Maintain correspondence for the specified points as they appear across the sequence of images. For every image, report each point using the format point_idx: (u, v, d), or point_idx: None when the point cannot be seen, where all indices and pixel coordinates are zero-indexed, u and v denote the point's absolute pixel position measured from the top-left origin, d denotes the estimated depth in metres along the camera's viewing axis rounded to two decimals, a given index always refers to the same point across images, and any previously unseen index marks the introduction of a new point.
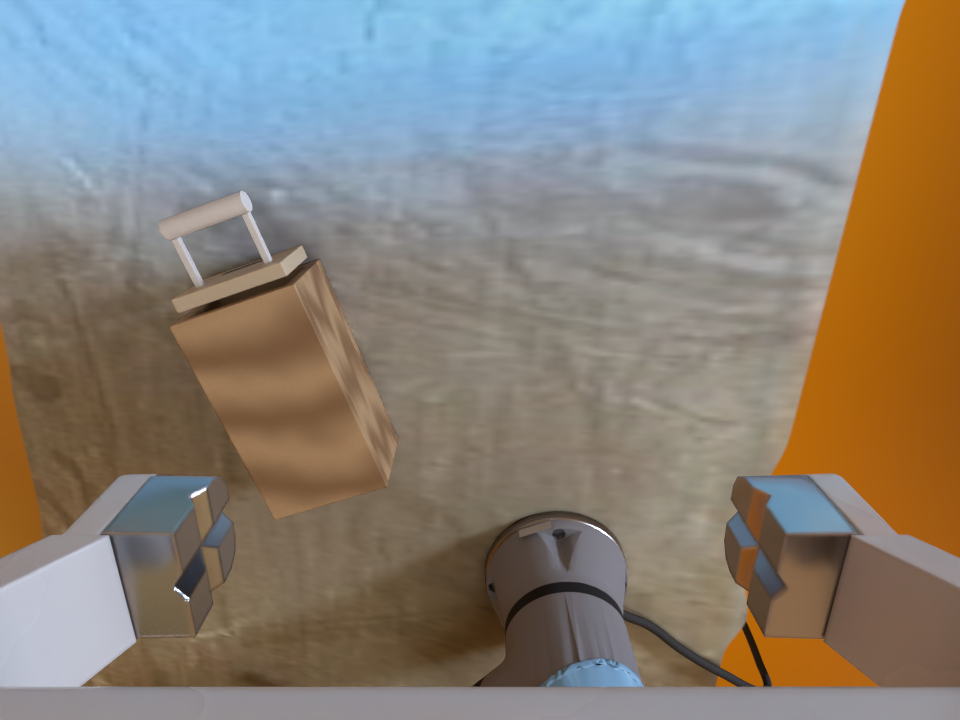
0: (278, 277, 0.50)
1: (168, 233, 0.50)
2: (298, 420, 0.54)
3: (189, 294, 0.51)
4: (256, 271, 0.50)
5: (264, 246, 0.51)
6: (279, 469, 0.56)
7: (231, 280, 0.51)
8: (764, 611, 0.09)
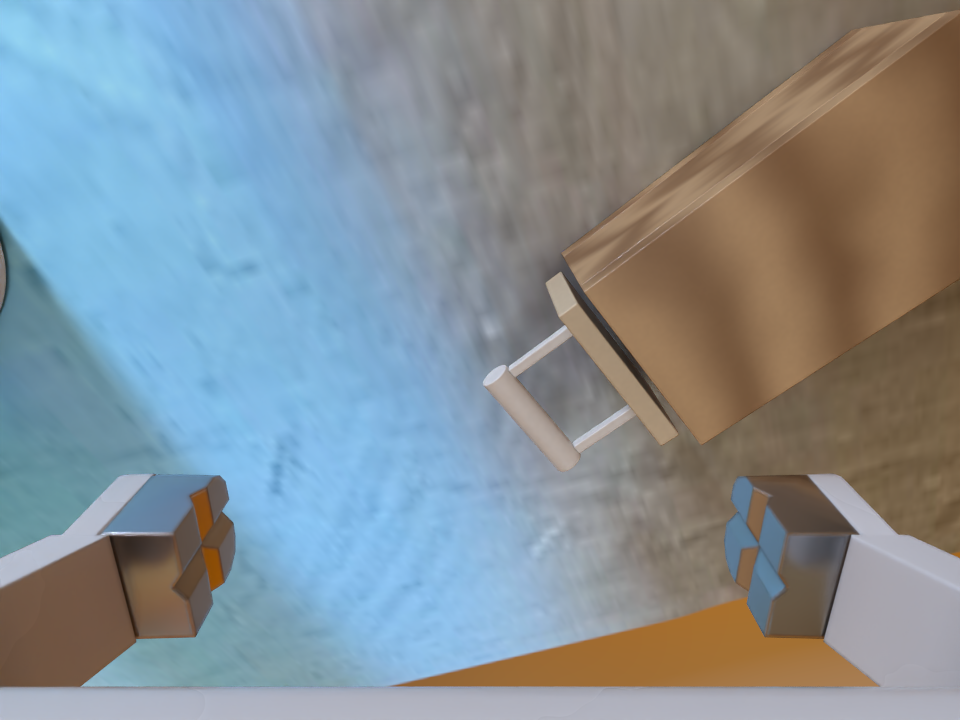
0: (583, 314, 0.32)
1: (569, 459, 0.37)
2: (832, 225, 0.30)
3: (645, 425, 0.35)
4: (583, 346, 0.33)
5: (549, 339, 0.35)
6: (941, 233, 0.30)
7: (608, 376, 0.34)
8: (765, 611, 0.09)
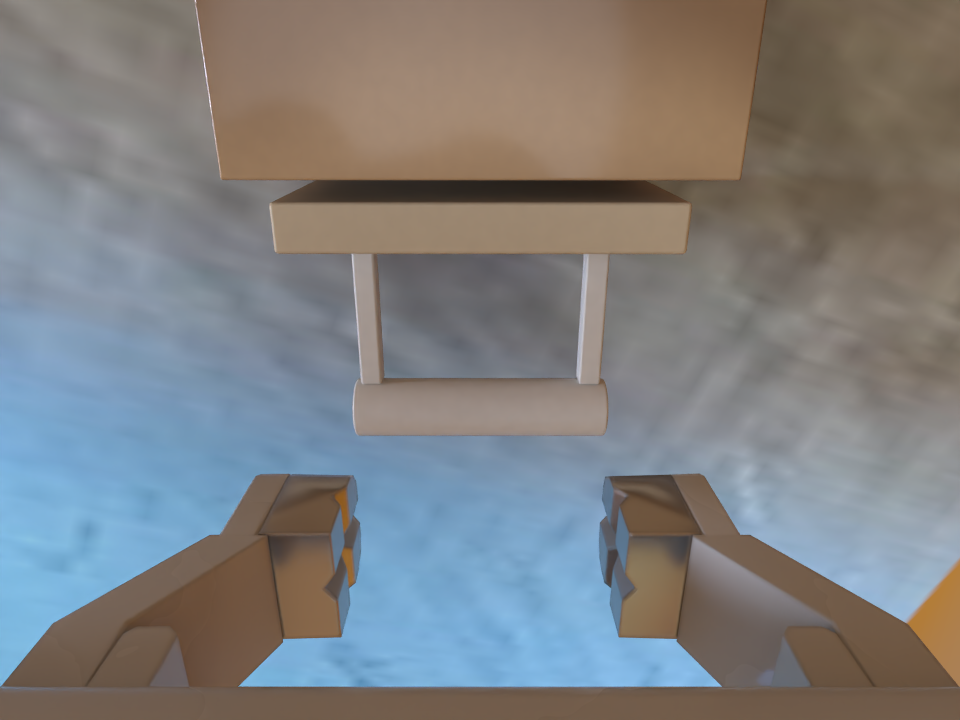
0: (299, 207, 0.15)
1: (587, 409, 0.18)
2: None
3: (616, 251, 0.15)
4: (364, 251, 0.15)
5: (354, 286, 0.17)
6: None
7: (458, 249, 0.15)
8: (618, 611, 0.09)
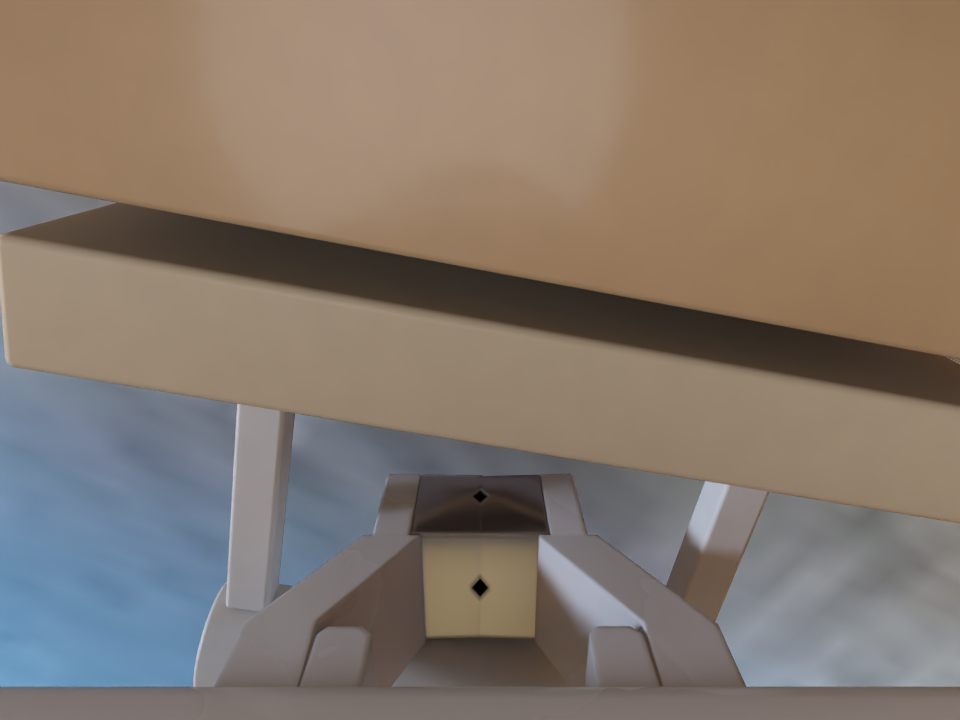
0: (81, 263, 0.05)
1: None
2: None
3: (866, 503, 0.06)
4: (248, 401, 0.06)
5: None
6: None
7: (491, 437, 0.06)
8: (477, 611, 0.09)
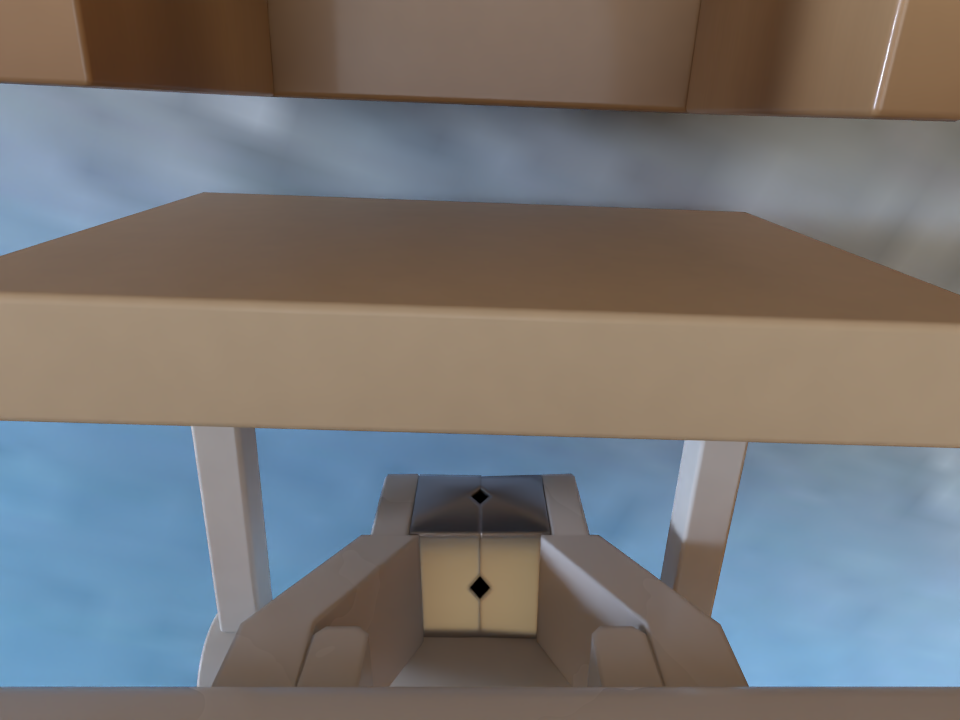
0: None
1: None
2: None
3: (826, 439, 0.06)
4: (166, 420, 0.06)
5: None
6: None
7: (417, 424, 0.06)
8: (479, 611, 0.09)
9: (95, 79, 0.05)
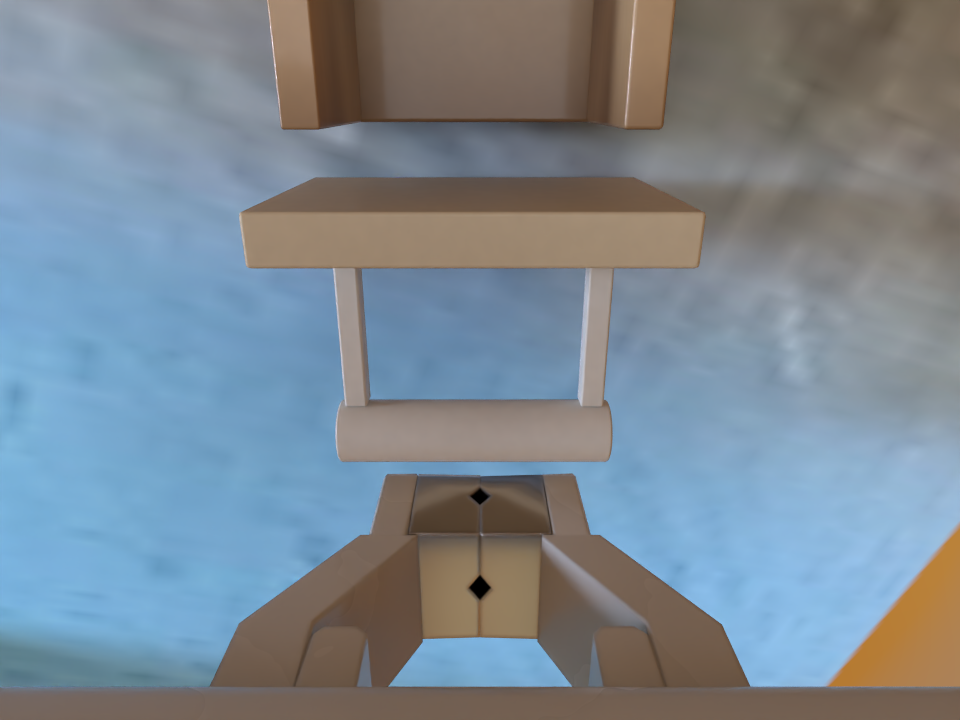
0: (272, 217, 0.13)
1: (590, 434, 0.17)
2: None
3: (621, 265, 0.14)
4: (344, 265, 0.14)
5: (337, 301, 0.16)
6: None
7: (448, 263, 0.14)
8: (480, 610, 0.09)
9: (320, 127, 0.13)
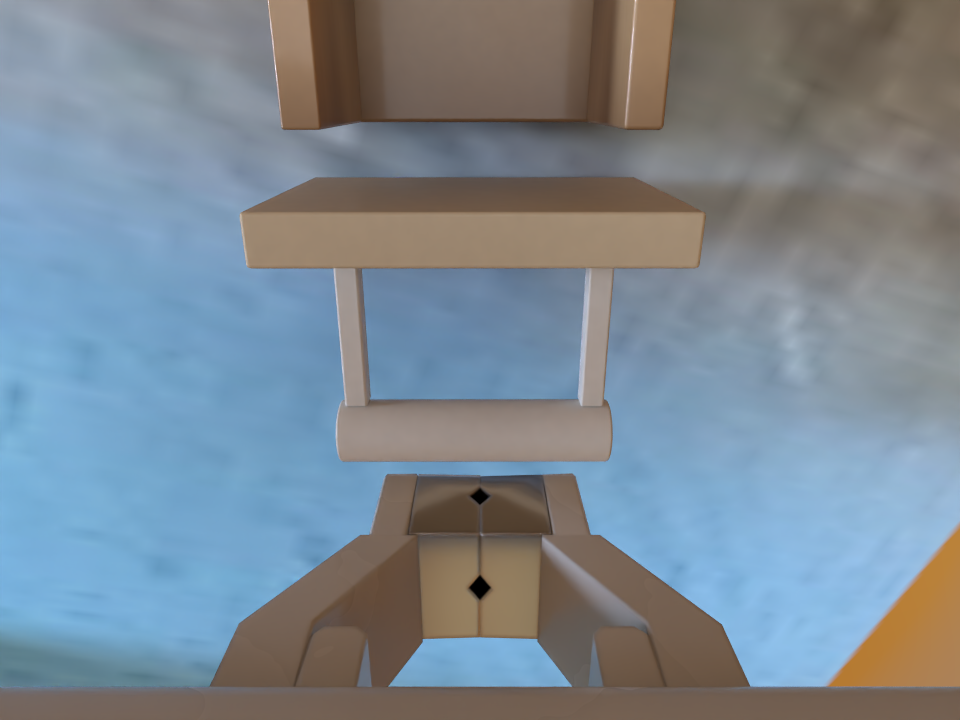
0: (272, 217, 0.13)
1: (590, 434, 0.17)
2: None
3: (622, 265, 0.14)
4: (345, 265, 0.14)
5: (337, 301, 0.16)
6: None
7: (448, 263, 0.14)
8: (480, 610, 0.09)
9: (321, 126, 0.13)
